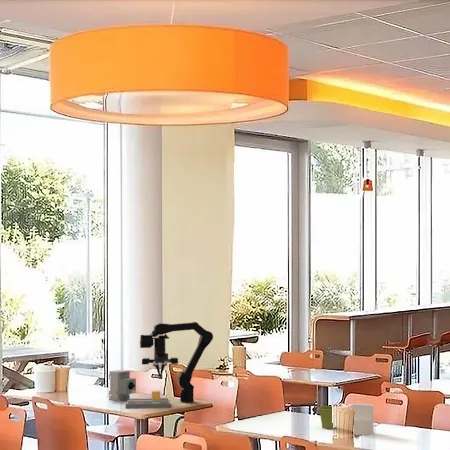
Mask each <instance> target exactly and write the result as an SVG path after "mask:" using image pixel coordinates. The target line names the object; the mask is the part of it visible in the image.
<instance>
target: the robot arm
mask: <svg viewBox="0 0 450 450" xmlns="http://www.w3.org/2000/svg"><path fill="white" fill-rule="evenodd" d="M191 330H193V331H194V332H195V333H196V334H197V335H199V339H198V343H197V346H196V348H195V350H194V352H193V354H192V356H191V357H190V360H189V362H188V364H187V366H186V368H185V369H184V370H183V371H182V370H180V371H179V374H178V376H177V377H176V378H177V380H176V381H177V384H178V386H179V387H180V388H181V390H180V391H181V392H180V396H179V399H180V400H179V401H180V402H181V403H194V401H195V400H194V388H195V386H194V385H193V384H192V383H191V382H192V377H193V372H194V371H195V369H196V366H197V364H198V363H199V360H200V359H201V357H202V355H203V353H204V351H205V350H206V348H208V346H209V345H210V344H211V343H212V342H213V339H214V335H213V333H212V332H211V331H210V330H206V329H205V328H204V327H202V326H201V325H200V324H199V323H198V322H196V321H192V322H183V323H163V322H161V323H160V322H157V323H156V324H155V325H153V330H152V331H151V332H150V334H140V339H139V348H140V349H151V348H152V347H154V355H153V356H154V359H152V358H151V359H150V357H143V358H142V359H141V365H149V364H152V366H153V367H155V369H156V372H157V374H158V378H160V379H162V375H163V372H164V369H165V367H167V366H168V363H170V364H172V365H175V364H176V365H177V364H179V358H178V357H170V358H169V353H167V352H166V339H168V340H169V339H170V337H169V336H168V335H167V334H168V333H173V332H182V331H191ZM160 364H161V365H160ZM160 366H161V367H160Z"/></svg>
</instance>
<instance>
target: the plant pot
mask: <svg viewBox="0 0 450 450" xmlns="http://www.w3.org/2000/svg"><path fill="white" fill-rule="evenodd" d="M332 406H333V405H332ZM332 406H319V407H317V410H318V412H319V415H320V416H319V417H320V421H321V428H322V429H325V430H326V429H328V430H333V423H332Z"/></svg>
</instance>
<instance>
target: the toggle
mask: <svg viewBox="0 0 450 450" xmlns="http://www.w3.org/2000/svg"><path fill="white" fill-rule="evenodd" d="M151 398H152V400H160V398H161V390H151Z"/></svg>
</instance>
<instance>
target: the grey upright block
mask: <svg viewBox="0 0 450 450" xmlns="http://www.w3.org/2000/svg"><path fill="white" fill-rule="evenodd" d="M351 408H353V409H354V411H355V414H354V434H353V435H357V436H371V435H373V434H374V432H375V431H374V404H372V403H371V404H370V403H351Z"/></svg>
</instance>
